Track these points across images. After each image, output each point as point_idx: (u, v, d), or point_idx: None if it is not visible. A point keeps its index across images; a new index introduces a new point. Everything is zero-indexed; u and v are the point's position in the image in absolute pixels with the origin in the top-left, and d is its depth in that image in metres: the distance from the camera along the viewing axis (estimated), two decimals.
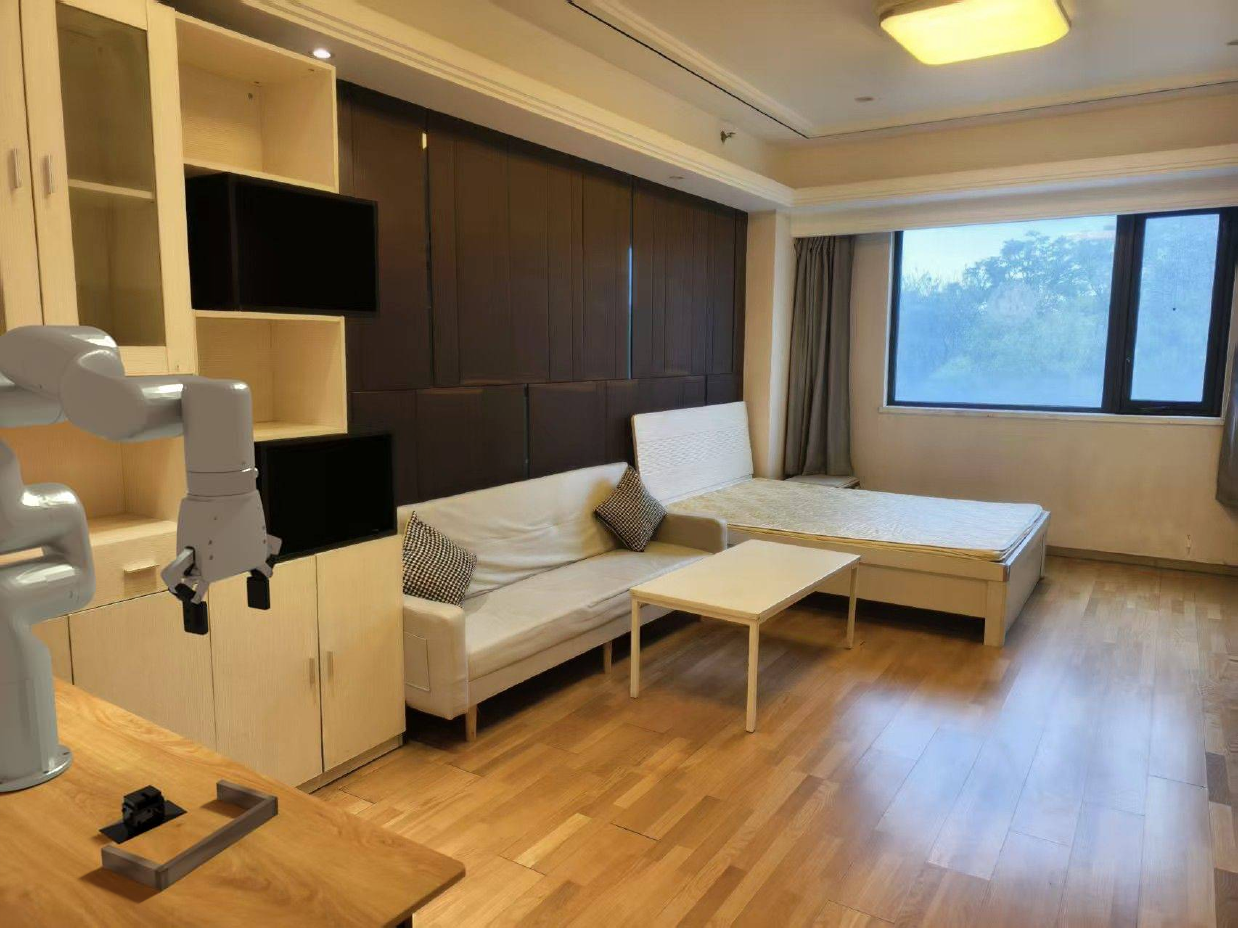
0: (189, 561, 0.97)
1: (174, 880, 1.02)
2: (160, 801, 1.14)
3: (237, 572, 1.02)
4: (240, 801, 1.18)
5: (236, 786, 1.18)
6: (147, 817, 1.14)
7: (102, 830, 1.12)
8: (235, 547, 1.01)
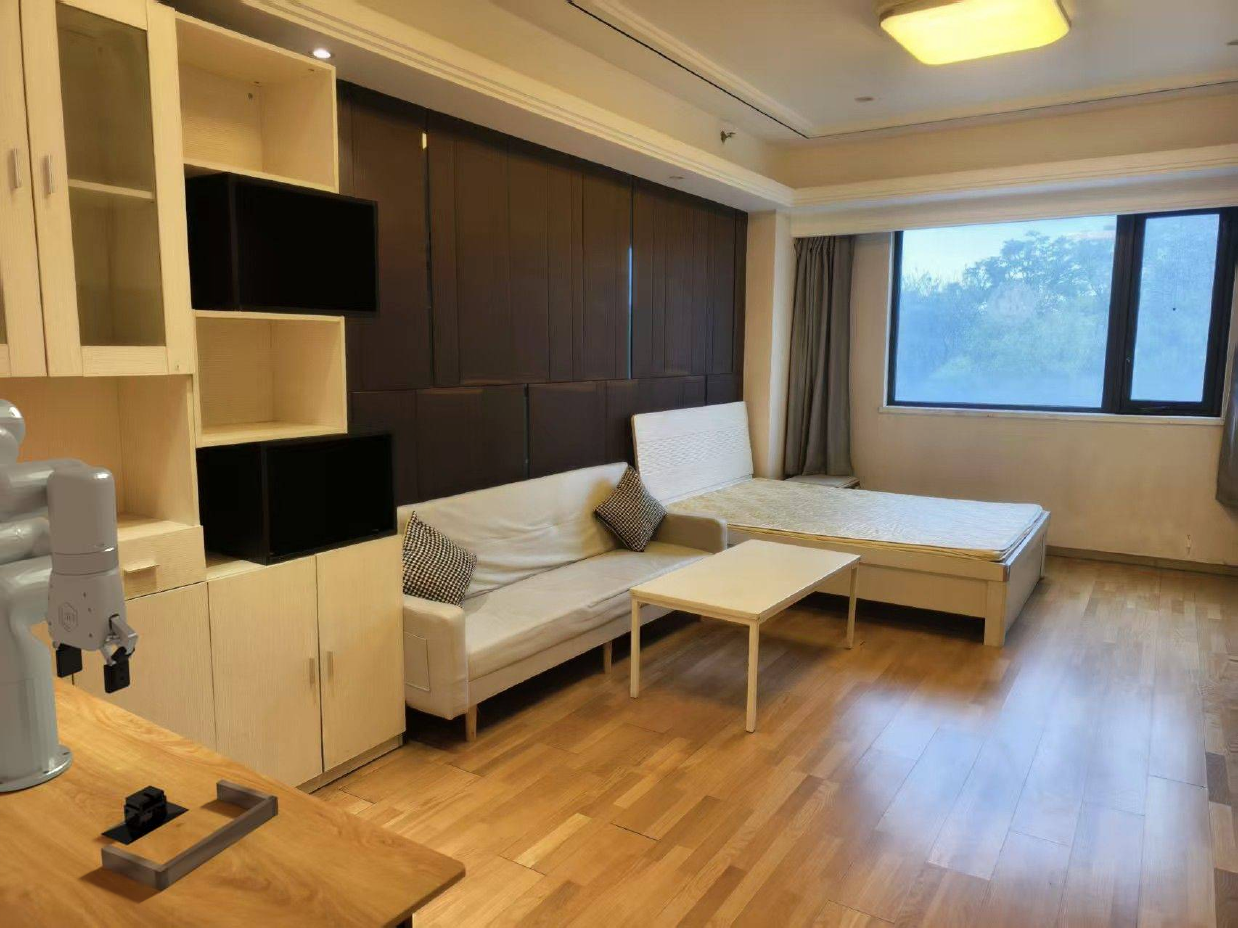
0: None
1: (174, 880, 1.02)
2: (163, 800, 1.14)
3: None
4: (240, 801, 1.18)
5: (236, 786, 1.18)
6: (150, 817, 1.14)
7: (105, 833, 1.11)
8: None
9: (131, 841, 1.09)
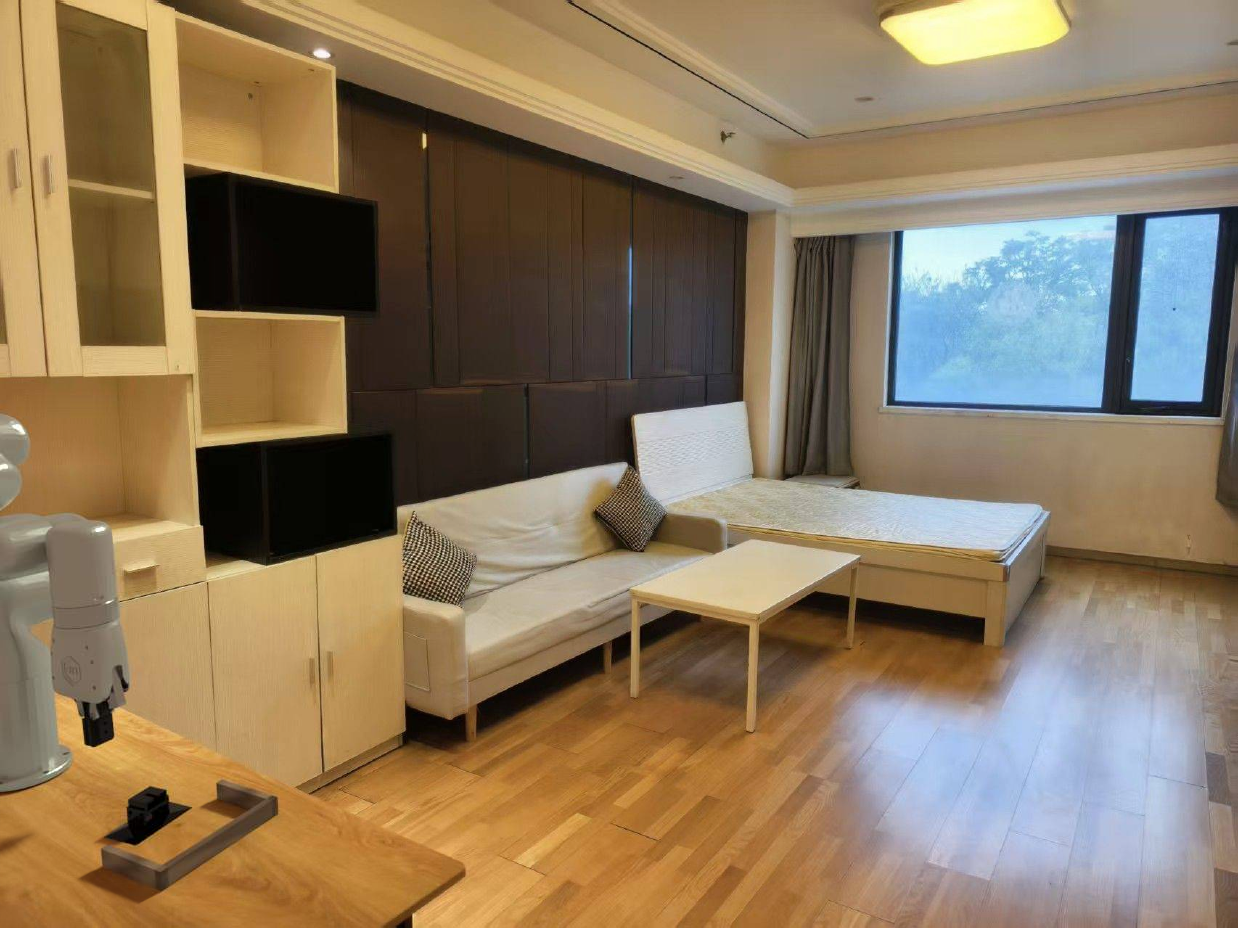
0: None
1: (174, 880, 1.02)
2: (165, 800, 1.15)
3: None
4: (240, 801, 1.18)
5: (236, 786, 1.18)
6: (153, 817, 1.14)
7: (108, 836, 1.10)
8: None
9: (139, 841, 1.10)
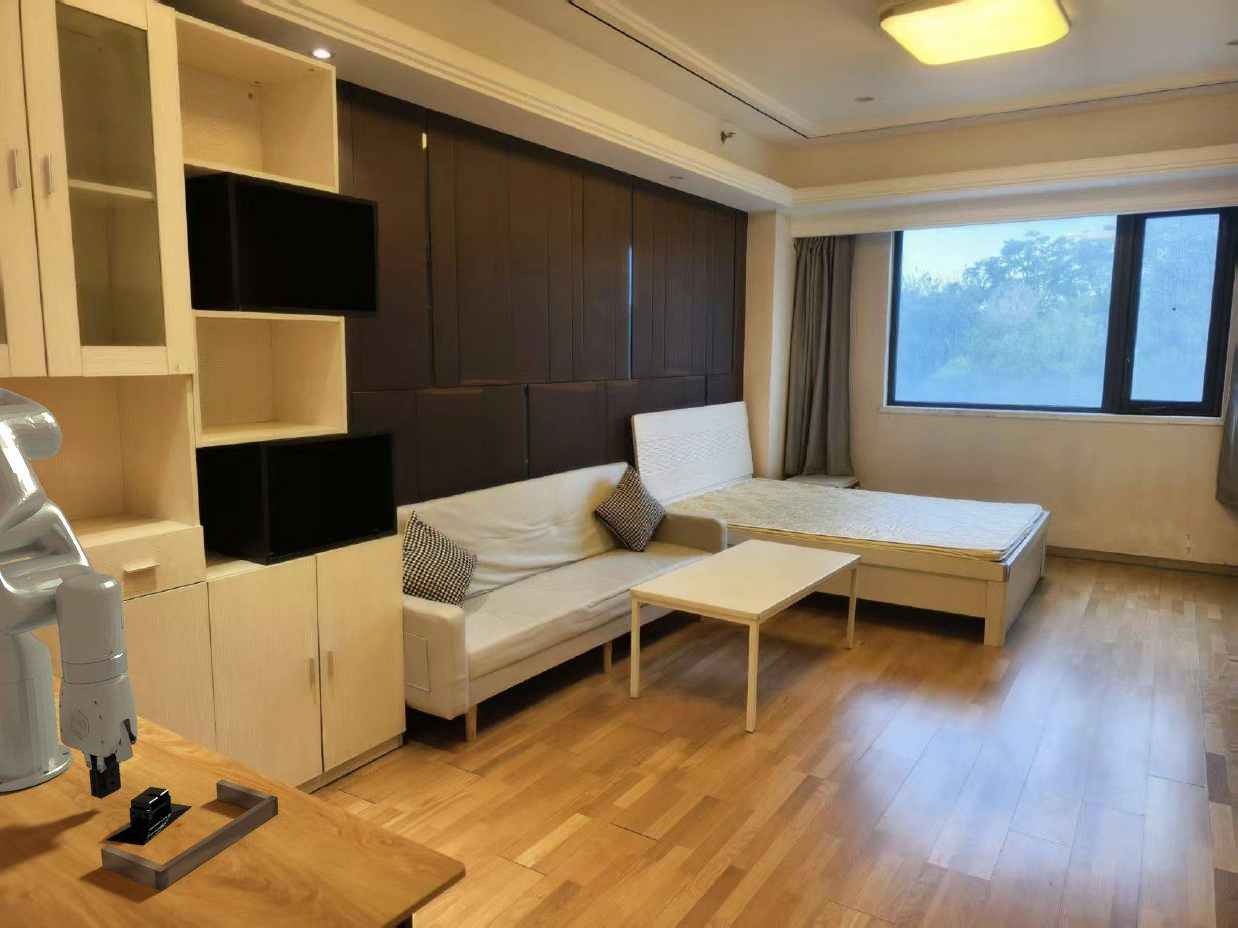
0: None
1: (174, 880, 1.02)
2: (168, 799, 1.15)
3: None
4: (240, 801, 1.18)
5: (236, 786, 1.18)
6: (156, 817, 1.14)
7: (112, 838, 1.10)
8: None
9: (146, 841, 1.10)
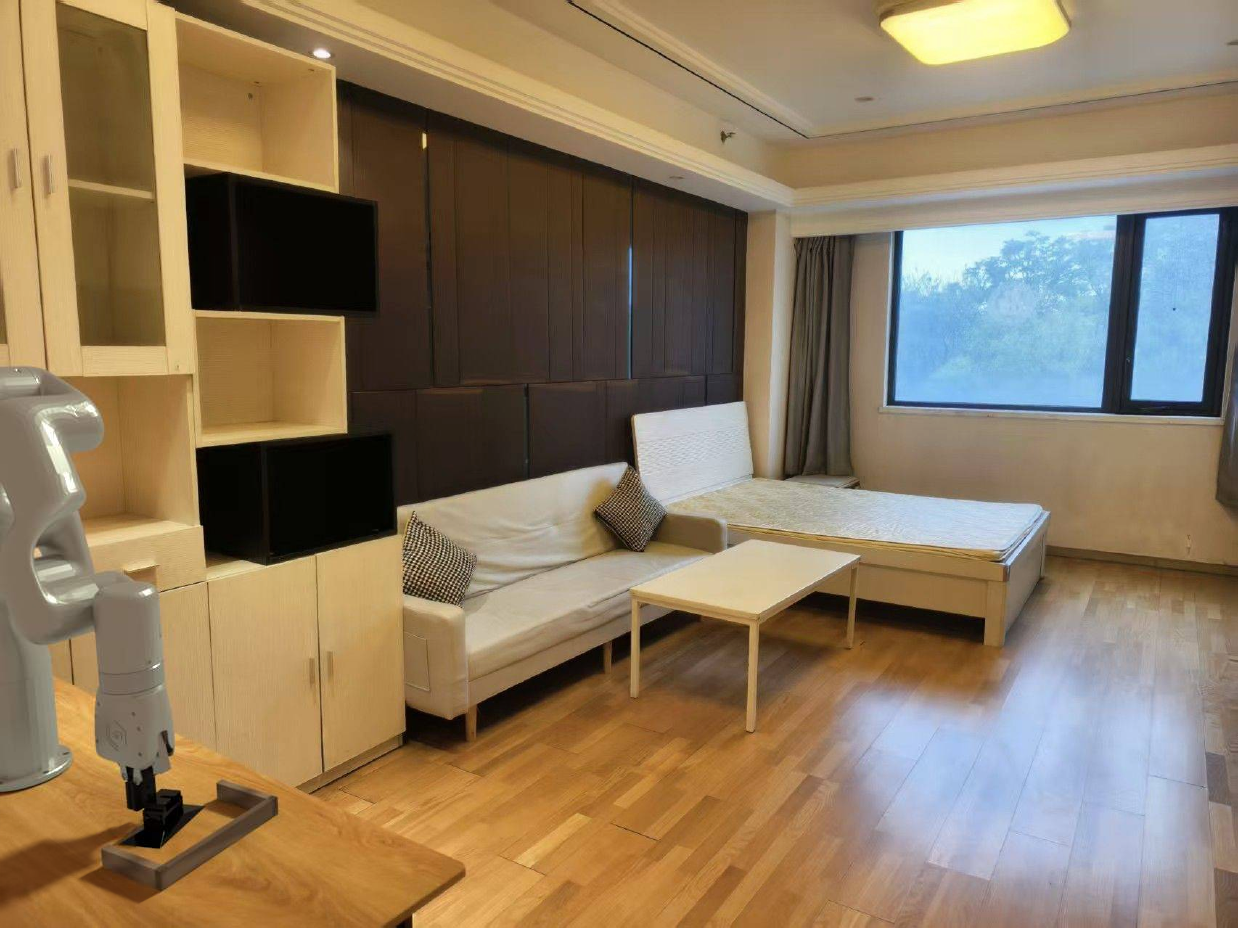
0: None
1: (174, 880, 1.02)
2: (180, 800, 1.14)
3: None
4: (240, 801, 1.18)
5: (236, 786, 1.18)
6: (168, 819, 1.13)
7: (126, 841, 1.09)
8: None
9: (162, 842, 1.09)
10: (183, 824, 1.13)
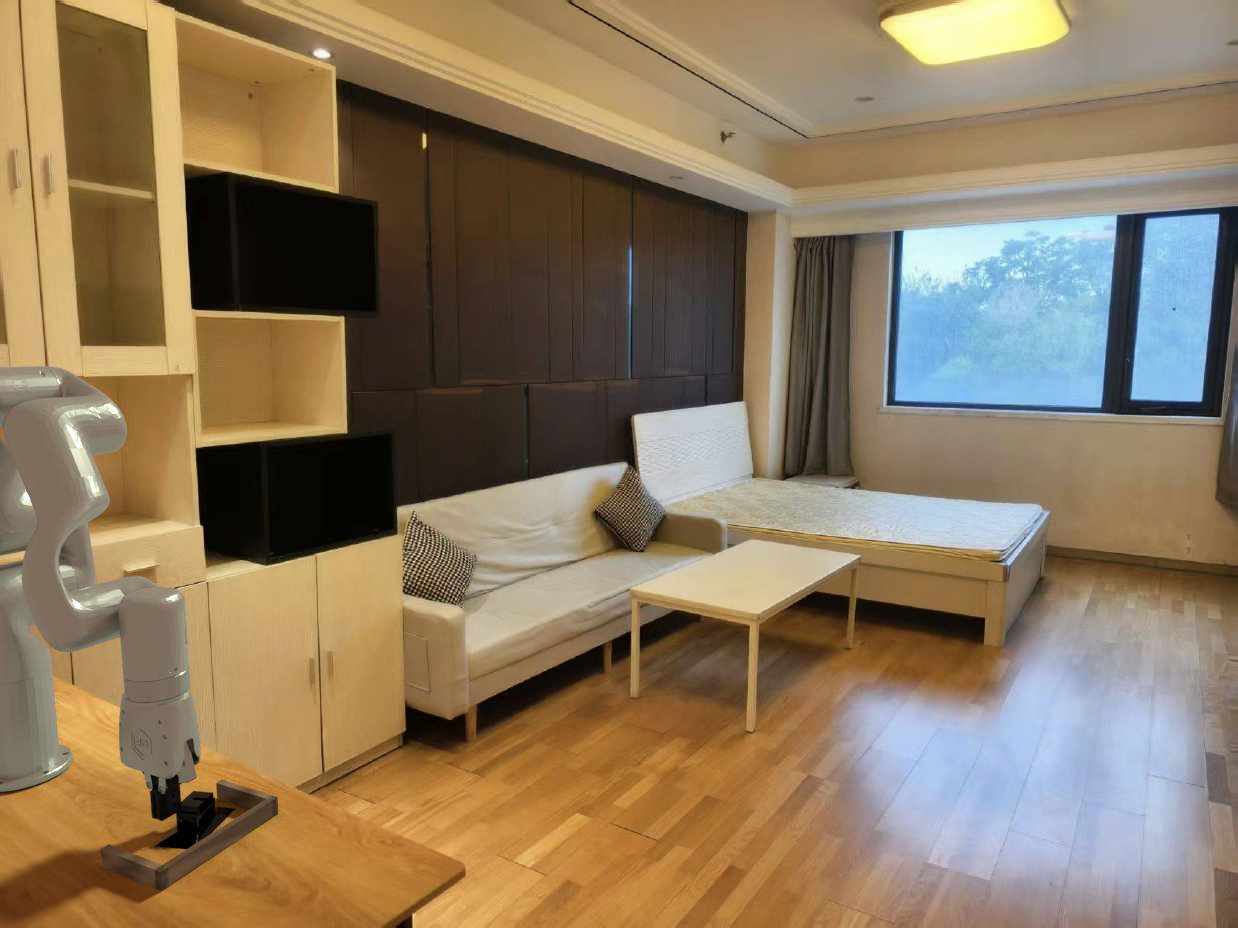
0: None
1: (174, 880, 1.02)
2: (212, 802, 1.14)
3: None
4: (240, 801, 1.18)
5: (236, 786, 1.18)
6: (201, 821, 1.13)
7: (161, 843, 1.09)
8: None
9: None
10: (216, 826, 1.13)
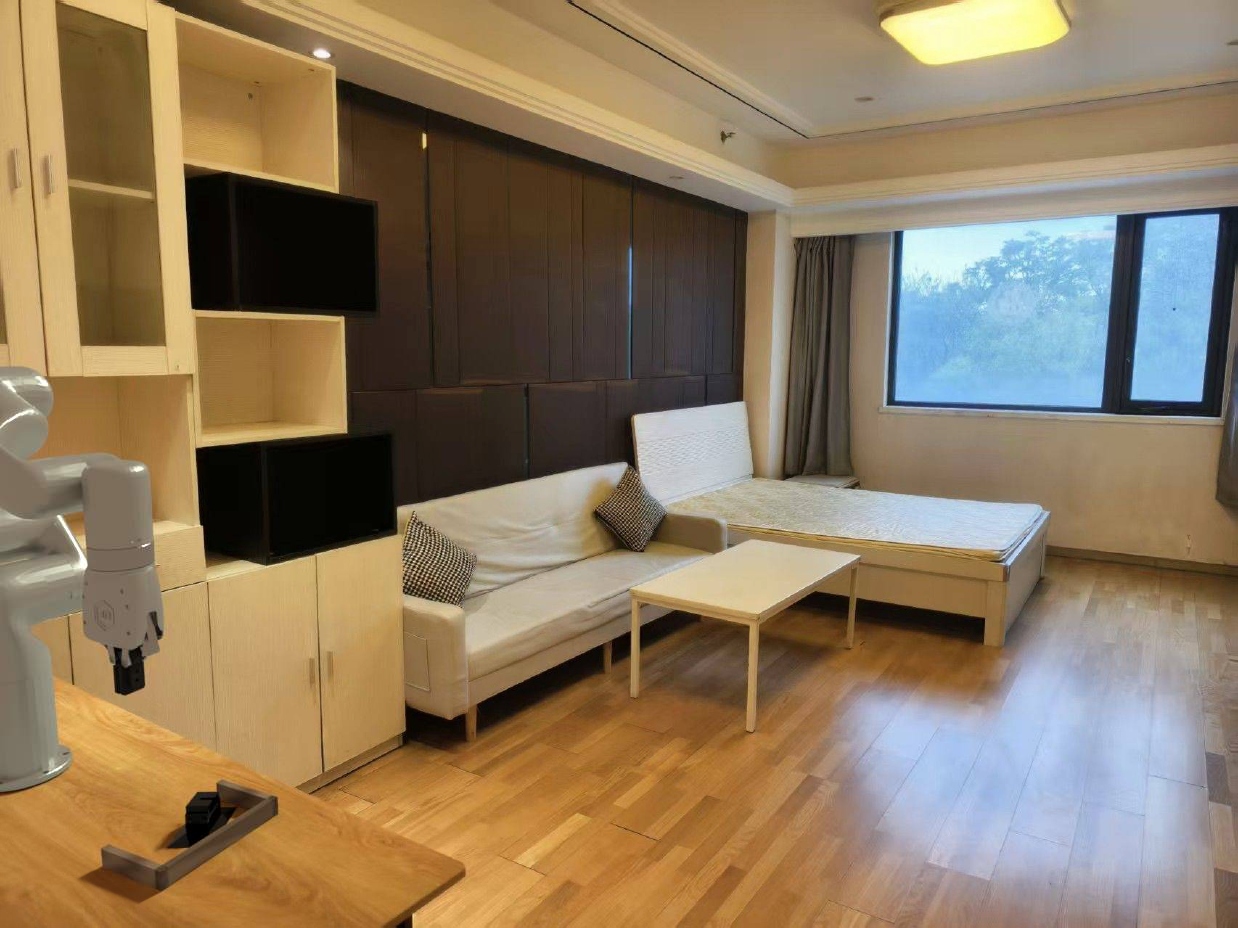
0: None
1: (174, 880, 1.02)
2: (218, 801, 1.14)
3: None
4: (240, 801, 1.18)
5: (236, 786, 1.18)
6: (208, 821, 1.13)
7: (172, 845, 1.09)
8: None
9: None
10: (224, 824, 1.14)
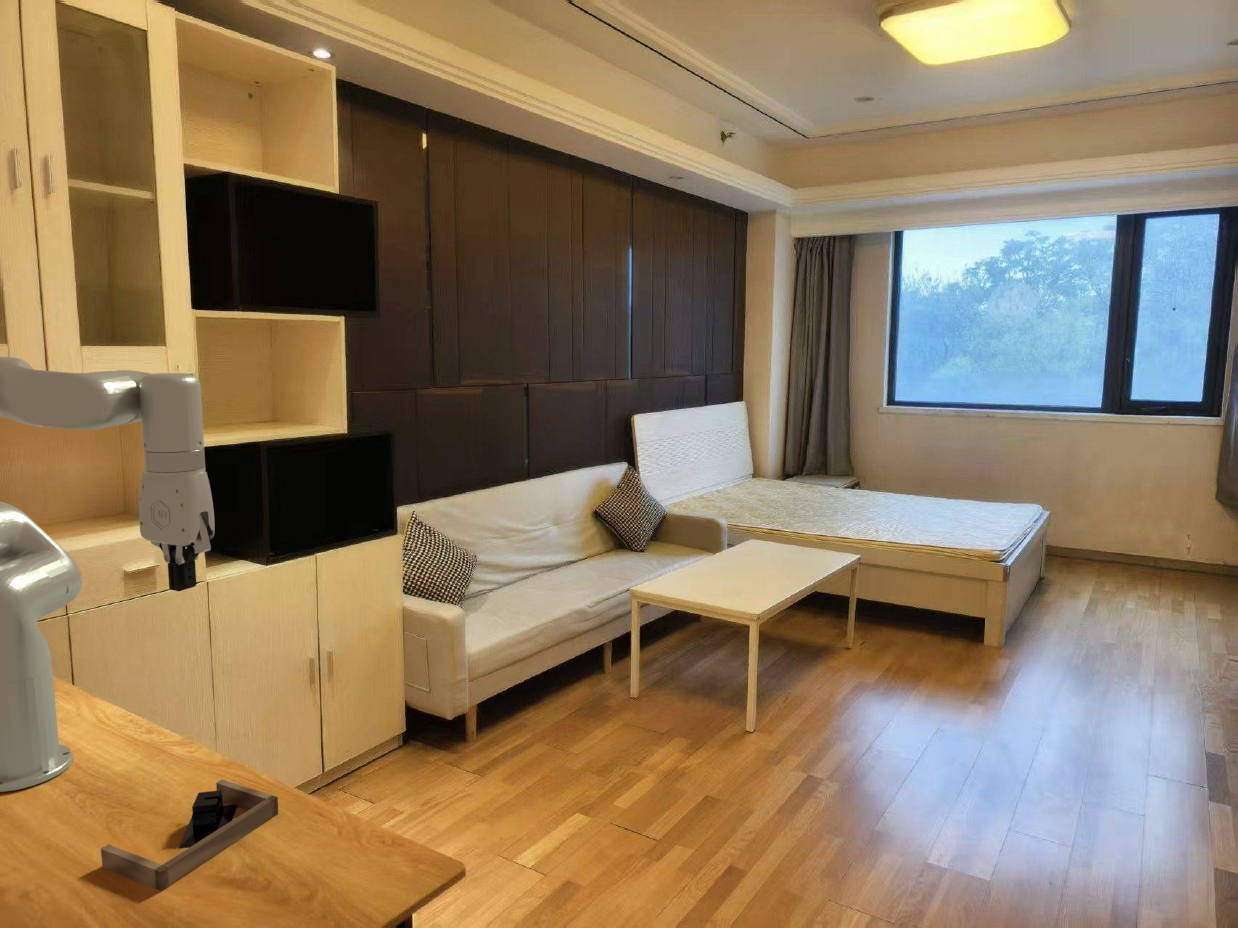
0: None
1: (174, 880, 1.02)
2: (221, 800, 1.15)
3: None
4: (240, 801, 1.18)
5: (236, 786, 1.18)
6: (213, 820, 1.14)
7: (183, 846, 1.09)
8: None
9: None
10: None
